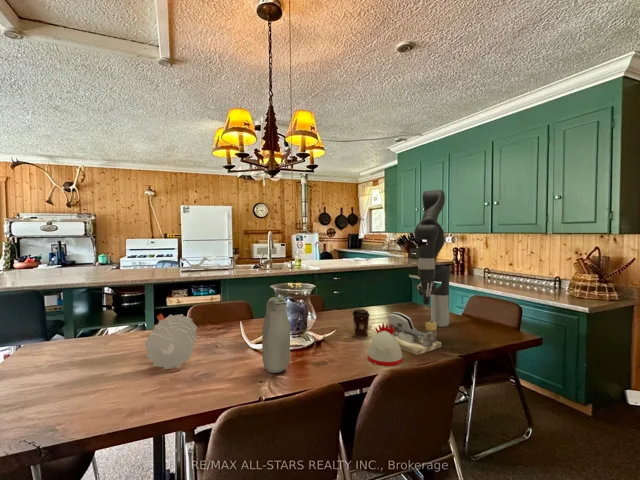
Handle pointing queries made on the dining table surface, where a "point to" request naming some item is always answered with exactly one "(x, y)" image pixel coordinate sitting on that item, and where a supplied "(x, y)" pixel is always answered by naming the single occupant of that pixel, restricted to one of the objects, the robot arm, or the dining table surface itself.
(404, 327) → the strap
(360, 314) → the coffee cup
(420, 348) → the cream board with rail
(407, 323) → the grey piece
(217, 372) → the dining table surface
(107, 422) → the dining table surface
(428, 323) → the block
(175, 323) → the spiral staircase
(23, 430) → the dining table surface
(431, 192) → the robot arm
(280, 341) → the glass bottle
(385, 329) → the kitchen timer
